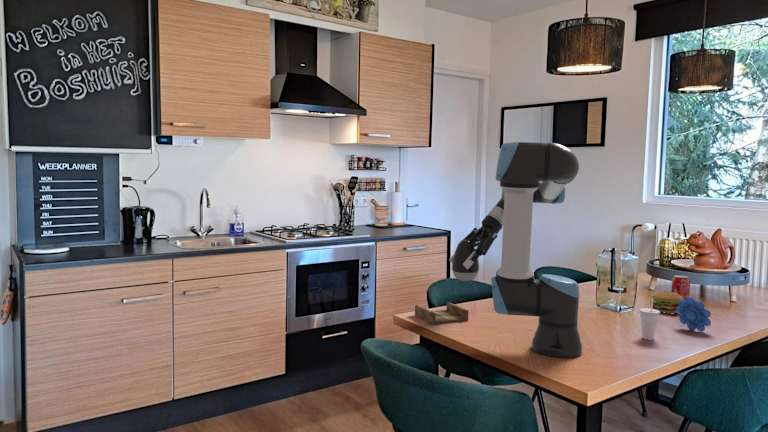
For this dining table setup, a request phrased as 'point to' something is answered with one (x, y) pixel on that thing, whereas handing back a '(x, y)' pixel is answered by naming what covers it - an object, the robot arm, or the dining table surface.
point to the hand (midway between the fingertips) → (458, 264)
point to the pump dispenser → (460, 257)
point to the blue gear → (693, 314)
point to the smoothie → (649, 321)
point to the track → (442, 314)
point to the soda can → (681, 286)
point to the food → (666, 301)
